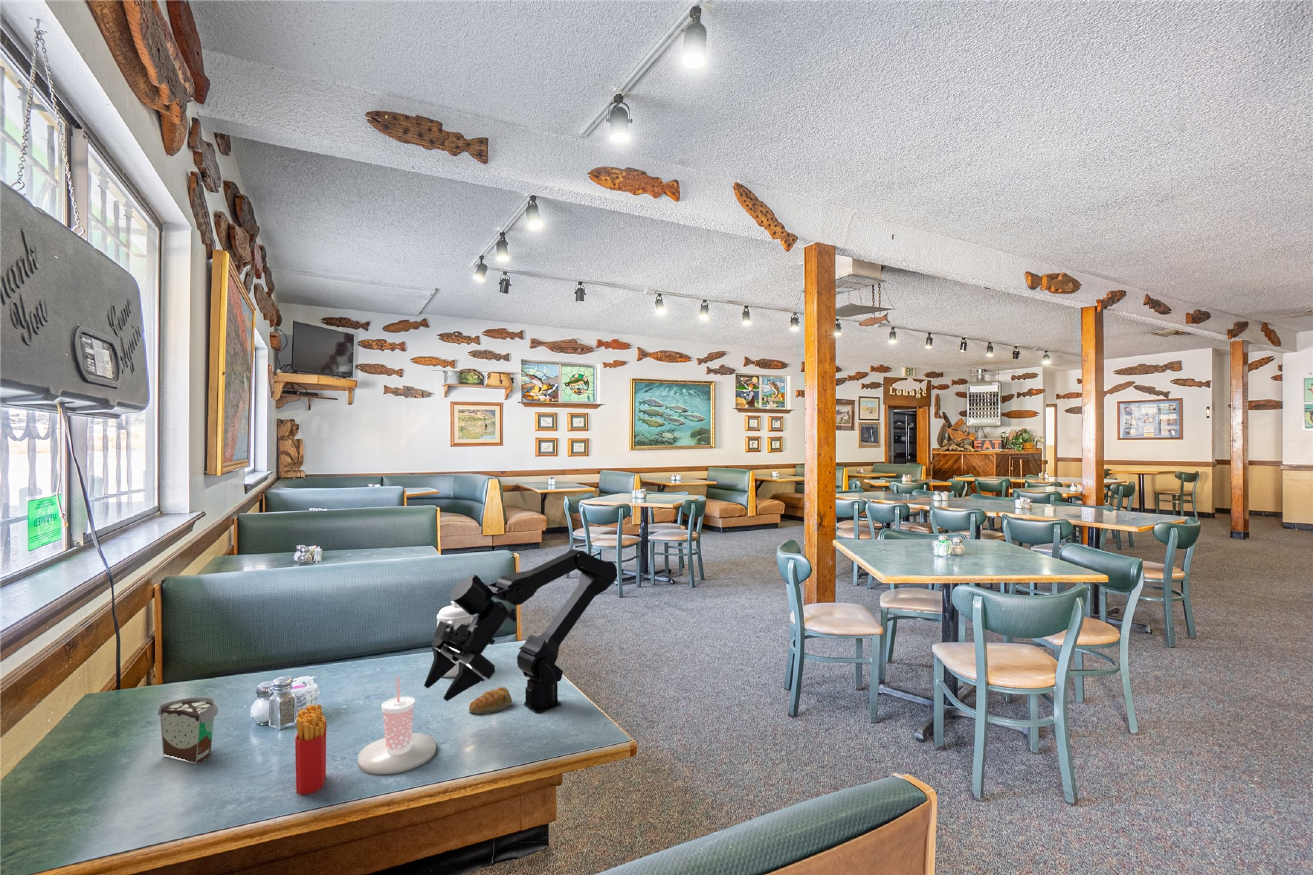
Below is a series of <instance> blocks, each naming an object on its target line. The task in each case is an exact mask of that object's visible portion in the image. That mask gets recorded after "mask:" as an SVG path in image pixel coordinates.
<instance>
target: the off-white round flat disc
mask: <svg viewBox="0 0 1313 875" xmlns="http://www.w3.org/2000/svg"><path fill="white" fill-rule="evenodd" d="M436 752H437V741H436V739H435V738H434V737H433V736H431V735H428V734H425V733H421V732H412V742H411V749H410V750H409V751H407V752H405V753H402V754H398V755H390V754H387V753H386V745H385V737H382V738H380V739H378V740H375V741H373V742H371V743H369V744H368V745H366V746H365V747H364V748H362V749H361V750H360V752H359V753H358V756H357V757H358V758H357V765H358V768H359V770H361V771H363V773H367V774H371V775H394V774H399V773H403V772H407V771H410V770H412V769H416V768H418V767H420V766H421V765H423V764H424V765H425V763H428V761H430V760H431V759H432V758H433V757H434V756H435V754H436Z"/></svg>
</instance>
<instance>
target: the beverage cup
mask: <svg viewBox="0 0 1313 875" xmlns="http://www.w3.org/2000/svg"><path fill="white" fill-rule="evenodd" d="M400 683H401V682H400V676H396V697H393V698H390V699H387V700H385V701H384V702H383V703H381V711H382V716H383V728H384V729H383V730H384V738H385V745H386V753H387V754H390V755H398V754H402V753H405V752H407V751H409V750H410V749H411V742H412V733H413V722H414V721H413V720H414V707H415V706H416V705H415V704H416V699H415V698H414V697H411V696H401V695H400V694H401V693H400V691H401V690H400Z"/></svg>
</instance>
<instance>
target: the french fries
mask: <svg viewBox="0 0 1313 875" xmlns="http://www.w3.org/2000/svg"><path fill="white" fill-rule="evenodd" d="M322 707H323V706H322V705H320V704H318V703H317V704H316V705H315V704H313V705H312V704H309V705H306V706H305V709H303V708H302V710H301V709H300V710H298V712H297V716H296V719H295V720H296V730H297V733H296V736H295V738H294V741H295V742H294V750H295V753H294V754H295V792H296V793H297V794H298V795H301V796H303V795H308V794H315V793H317V792H318V791H319V790H321V789H322V788H323V786H324V784H325V781H326V777H327V721H326V719H327V718H326V717H325V716H323V711H322Z"/></svg>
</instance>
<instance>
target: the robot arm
mask: <svg viewBox="0 0 1313 875" xmlns="http://www.w3.org/2000/svg"><path fill="white" fill-rule="evenodd" d="M575 570H577V571H578V572H580V574H579V579H578V580H579V581H578V585H577V587H576V588H575V589H574V591H573V592H572V593H571V595H570V596H569V597H568V599H567V600H566V601H565V603H564V604H563V606H562V607H561V608H560V609H559V611H558V612H557V614H556V615H555V616H554V617H553V619H552V620H551V621H550V623H549V624H548V626H547V627H546V629H544V631H543V632H542V633H541V634H539V635H538V636H536V635H533V634H530V635H529V636H528V637H527V638H526V640H525V642H524V643H523V644H522V645H521V646H519V648H518V650H520V651H519V652H518V654H517V656H516V659H517V660H516V663H517V667H518V669H519V670H520V671H522V674H523V676H524V677H525V678H526V677H527V678H528V679H527V680H526V681H527V682H526V687H525V688H524V689H525V691H524V693H525V701H524V702H523V705H524V706H525V707H527V708H529V709H530V710H531V711H533V712H535V713H537V714H539V713H542V712H546V711H548V710H551V709H555V708H558V707H561V706H562V702H560V701H559V698H558V696H559V695H558V694H559V692H558V691H559V690H558V684H559V683H558V682H560V681H561V680H562V678H563V673H564V670H562V669H561V668H560V667H559V666H558V665H557V664H555V663H556V661H557V660H558V656H559V651H560V646H561V645H562V643H563V642H564V640H565V638H566V637H567V636H568V635H569V633H570V632H571V630H572V629H573V627H574V626H575V624H577V623H578V620H579V619H580V618H581V616H582V615H583V614H584V612H585V611H586V610H587V608H588V606H590V603H592V601H594V599H595V597H596V596H598V595H600V594H601V593H603V592H605V591H607V590H608V588H610V587H611V586H612V585H613V584H614V582H615V581H616V579H617V578H618V568H617V566H616V564H615V563H614V562H613V561H609V560H604V559H599V558H598V557H595V556H593V555H590V554H589V553H587V552H586V551H584V550H579V549H574V548H573V549H570V550H568V551H567V552H565V553H563V554H561V555H559V556H557V557H555V558H552V559H550V560H548V561H546V562H543V563H542V564H540V565H537V566H536V567H533V568H531V569H529V570H525V571H518V572H517V571H516V572H513V573H508V574H504V575H503V576H501V577H499V578H498V579H497V580H496V581H495V582H492V583H489V584H487V585H486V583H484V582H483V581H482V580H481V578H480V577H479V576H478V575H477V574H473V573H471V574H469V576H468V577H467V578H464V579H463V580H462V581H460V582H459V583H456V584H455V586H454V587H453V589H452V590H451V592H450V600H451V601H454V602H455V603H456V604H457V605H458V606H460V607H461V608H462V609H463V610H464V611H466V612H467V613H468V614H469V615H473V616H474V615H475V617H474V618H473V621H472V622H471V623H469V622H466V623H464V624H460V623H456V625H453V624H449V623H446V622H442V621H440V622H439V624H438V627H437V626H436V630H435V632H434V634H433V637H435V638H434V640H433V641H432V642H431V643H430V644H431V646H433V647H432V648H431V651H432V652H433V653H432V654H433V661H432V664H431V667H430V669H429V672H428V675H427V677H426V680H425V681H424V685H423V686H424V687H425V688H426V689H430V688H431V687H432V686H433V685H435V684H436V683H437V682H438V681H439V680H441V679H442V678H444V677H443V676H444V675H445V674H446V673H447V672H448V671H450V670H451V669H452V668H453V667H454V666H455V665H456V664H455V663H454V662H452V661H451V660H453V661H455V662H456V661H458V660H462V661H464V662H465V663H467V664H466V665H465V664H463V663H462V662H460V661H459V672H458V674H457V676H456V677H454V679H453V680H452V682H451V683H450V686H448V688H447V690H446V692H445V694H444V695H443V699H444V700H445V701H446V702H449V701H451V700H452V699H453V698H456V697H457V696H458V695H460V694H462V693H463V692H465V691H466V690H468V689H469V688H472V687H473V686H475V685H478V684H479V683H480V682H484V681H485V679H486V680H489V681H490V680H491V678H492V676H493V675H494V674H495V673H496V665H495V664H494V663H493V662H491V661H490V660H489V659H488V658H486V657H485V656H484V655H483V654H482V653H483V652H484V651H485V649H486V648H487V647H488V645H491V646H493V645H494V643H495V642H496V640H495V639H494V637H495V636H496V634H497V633H498V632H499V630H500V629H501V627H502V626H503V625H504V623H505V622H506V620H508V621H511V622H517V615H516V608H514V607H508V606H506V604H504V603H503V602H505V603H507V604H510V605H513V606H520V605H522V604H524V603H525V602H526V601H528V600H529V599H531V598H532V597H533V596H534V595H535V594H536V592H537V591H538V590H539V589H540V588H542V587H544V586H546V585H547V584H550V583H552V582H554V581H556V580H557V579H560V578H561V577H564V576H566V575H567V574H569V573H572V572H573V571H575ZM493 599H497V600H498V601H494V600H493ZM499 600H500V601H499Z"/></svg>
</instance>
